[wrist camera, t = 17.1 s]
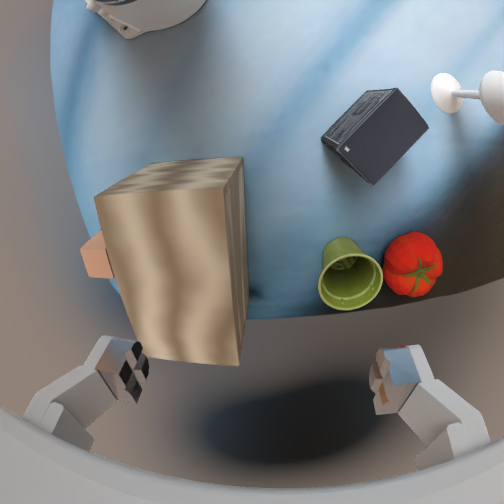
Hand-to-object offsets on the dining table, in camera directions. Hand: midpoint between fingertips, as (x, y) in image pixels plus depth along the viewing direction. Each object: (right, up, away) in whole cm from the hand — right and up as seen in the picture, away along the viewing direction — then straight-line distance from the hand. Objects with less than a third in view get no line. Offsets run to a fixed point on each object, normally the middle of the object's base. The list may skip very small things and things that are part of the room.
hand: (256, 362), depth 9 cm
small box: (+15, +21, +26) cm, 37 cm away
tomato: (+26, +3, +35) cm, 44 cm away
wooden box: (-8, +7, +36) cm, 38 cm away
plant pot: (+14, +3, +36) cm, 39 cm away
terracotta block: (-22, +7, +38) cm, 44 cm away
